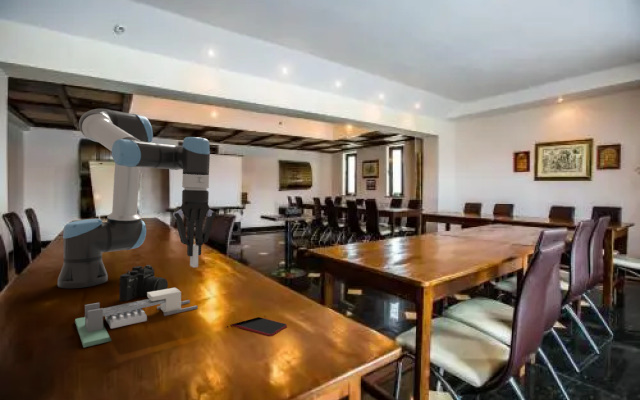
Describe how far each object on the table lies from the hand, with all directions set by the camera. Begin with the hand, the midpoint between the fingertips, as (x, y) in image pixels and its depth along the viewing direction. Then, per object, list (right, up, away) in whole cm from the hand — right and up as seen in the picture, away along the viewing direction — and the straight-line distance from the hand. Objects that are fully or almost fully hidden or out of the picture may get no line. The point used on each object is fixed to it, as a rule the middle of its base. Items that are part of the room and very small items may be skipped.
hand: (193, 266), depth 102 cm
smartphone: (+22, -13, -14) cm, 29 cm away
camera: (-18, -12, +6) cm, 22 cm away
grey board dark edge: (-12, -8, -15) cm, 20 cm away
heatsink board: (-9, -12, -12) cm, 20 cm away
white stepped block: (-5, -11, -9) cm, 15 cm away
